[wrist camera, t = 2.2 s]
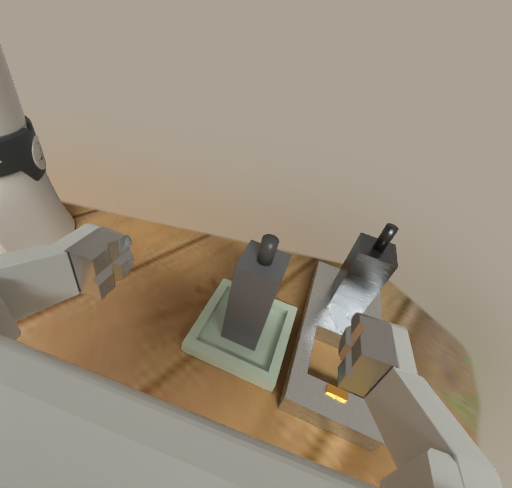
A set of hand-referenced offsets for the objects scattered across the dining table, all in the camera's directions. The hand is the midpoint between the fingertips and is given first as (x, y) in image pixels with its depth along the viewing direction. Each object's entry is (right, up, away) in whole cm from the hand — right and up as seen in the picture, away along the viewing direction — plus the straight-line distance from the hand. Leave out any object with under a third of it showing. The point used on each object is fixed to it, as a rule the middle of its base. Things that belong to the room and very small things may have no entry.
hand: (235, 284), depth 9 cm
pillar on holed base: (+10, -10, +23) cm, 27 cm away
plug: (-1, -8, +21) cm, 23 cm away
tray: (-1, -9, +22) cm, 23 cm away
